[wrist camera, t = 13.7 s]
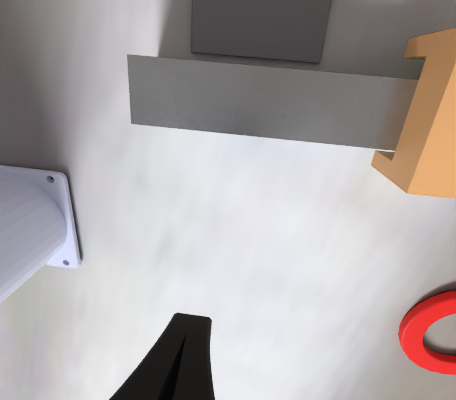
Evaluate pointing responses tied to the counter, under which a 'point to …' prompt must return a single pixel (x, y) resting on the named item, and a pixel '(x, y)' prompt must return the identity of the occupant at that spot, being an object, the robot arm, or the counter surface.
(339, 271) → the counter surface
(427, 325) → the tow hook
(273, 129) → the rail
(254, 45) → the pad
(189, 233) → the counter surface
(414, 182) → the peach cuboid block
